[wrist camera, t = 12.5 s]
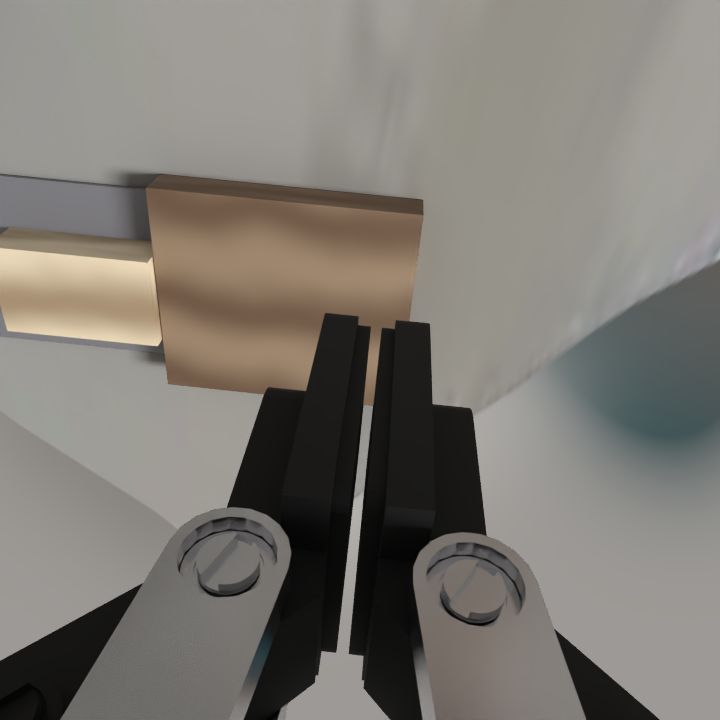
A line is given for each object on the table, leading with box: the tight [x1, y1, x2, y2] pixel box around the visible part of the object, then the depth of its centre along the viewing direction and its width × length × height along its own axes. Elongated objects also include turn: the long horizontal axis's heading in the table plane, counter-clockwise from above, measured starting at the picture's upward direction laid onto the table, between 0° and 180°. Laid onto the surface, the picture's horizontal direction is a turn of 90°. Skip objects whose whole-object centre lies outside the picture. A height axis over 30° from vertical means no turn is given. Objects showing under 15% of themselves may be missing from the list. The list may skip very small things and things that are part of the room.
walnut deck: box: [146, 174, 423, 406], centre depth 42 cm, size 14×16×2 cm
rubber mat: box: [0, 174, 165, 354], centre depth 43 cm, size 12×14×1 cm
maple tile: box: [0, 227, 163, 346], centre depth 42 cm, size 6×10×3 cm, turn 86°
